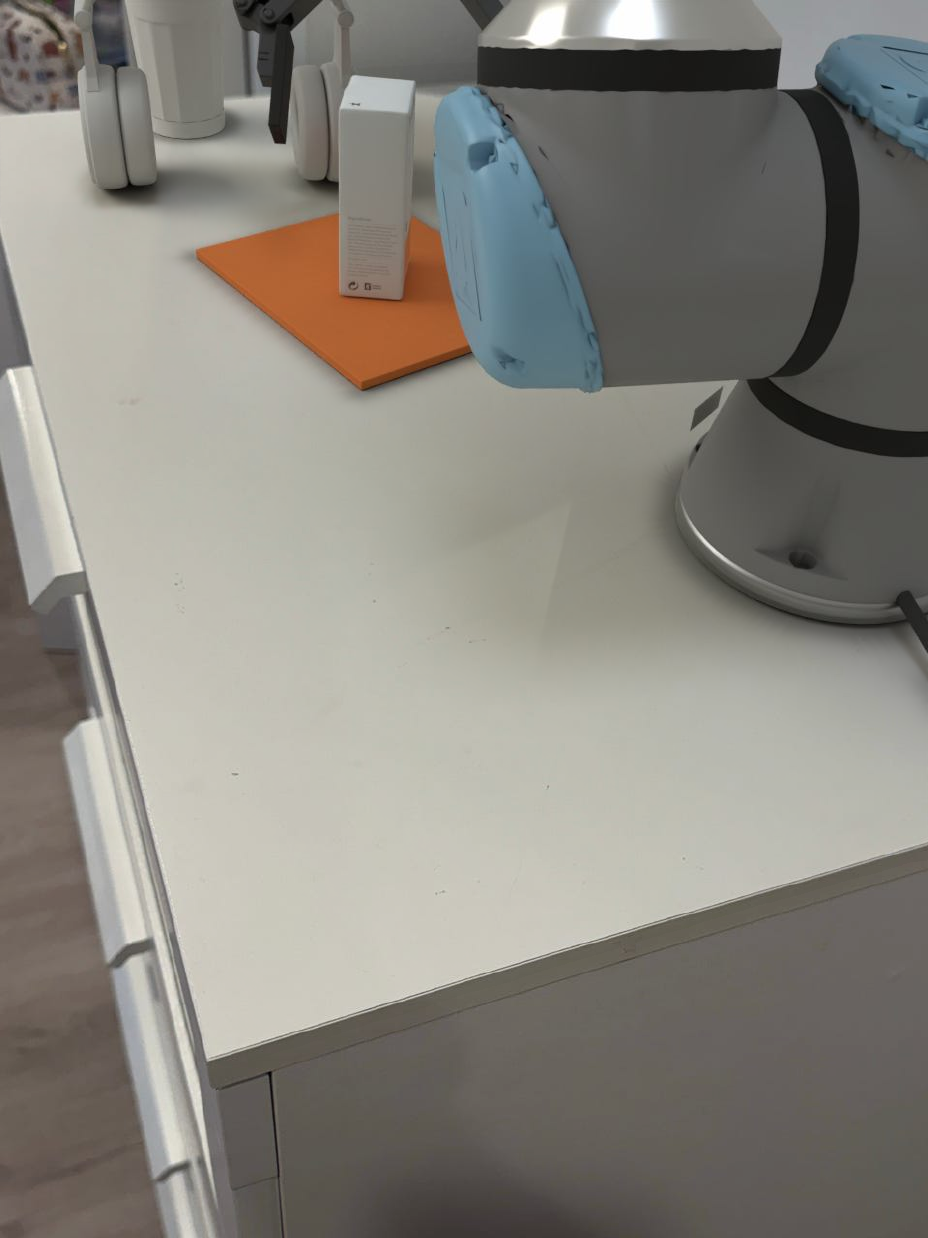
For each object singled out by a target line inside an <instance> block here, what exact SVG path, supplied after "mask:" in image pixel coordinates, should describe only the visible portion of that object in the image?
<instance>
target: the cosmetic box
mask: <svg viewBox="0 0 928 1238" xmlns="http://www.w3.org/2000/svg"><path fill="white" fill-rule="evenodd" d="M416 85H417V83H416V80H410V79H400V78H398V79H397V78H388V77H378V76H366V75H358V74H357V75H353V76H352V77H351V78H350V81H349V84H348V86H347V88H346V89H345V92H344V96H343V99H342V102H341V105H340V108H339V182H338V213H339V292H340V294H341V295H344V296H355V297H368V298H381V299H392V300H401V299H402V298H403V290H404V283H405V277H406V273H407V268H408V264H409V258H410V234H411V215H412V204H413V203H412V202H413V201H412V200H413V178H414V175H413V173H414V149H415V148H414V147H415V122H416V121H415V119H416V118H415V117H416V87H417V86H416Z"/></svg>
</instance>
